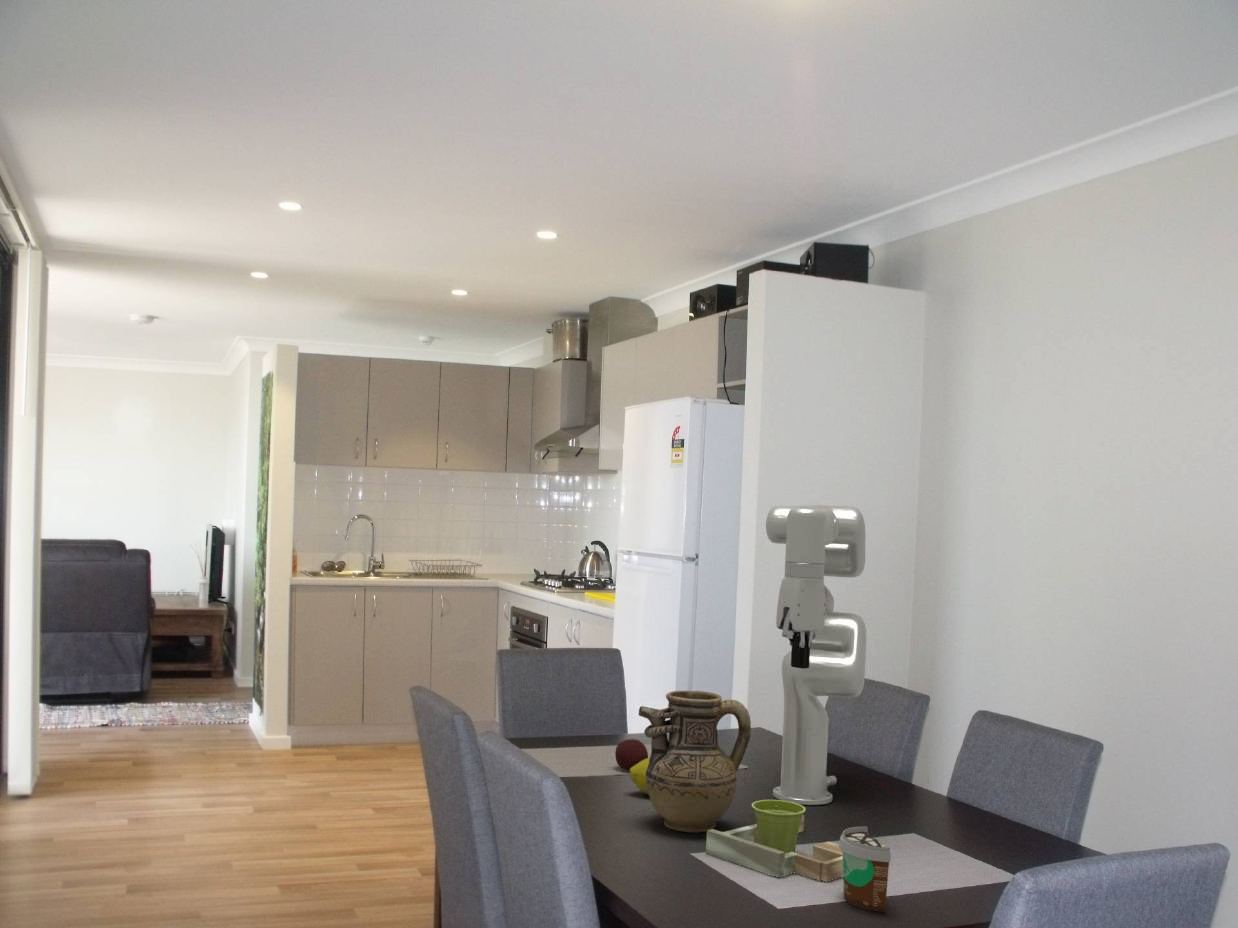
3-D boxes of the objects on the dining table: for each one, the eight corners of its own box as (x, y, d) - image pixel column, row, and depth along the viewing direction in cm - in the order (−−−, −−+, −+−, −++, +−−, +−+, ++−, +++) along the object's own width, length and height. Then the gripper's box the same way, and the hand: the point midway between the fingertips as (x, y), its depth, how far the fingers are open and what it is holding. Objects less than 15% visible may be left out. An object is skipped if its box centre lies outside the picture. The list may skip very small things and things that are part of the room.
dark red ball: (609, 767, 259) (610, 736, 260) (639, 765, 263) (641, 735, 263) (622, 774, 253) (624, 743, 253) (653, 772, 256) (655, 741, 256)
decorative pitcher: (740, 816, 223) (746, 690, 224) (752, 843, 205) (758, 705, 206) (631, 811, 222) (638, 684, 223) (633, 837, 205) (641, 699, 206)
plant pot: (774, 867, 192) (777, 815, 192) (738, 851, 199) (741, 802, 200) (814, 860, 197) (816, 810, 197) (777, 845, 205) (780, 797, 205)
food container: (827, 886, 183) (829, 824, 183) (863, 887, 184) (866, 825, 184) (848, 913, 171) (851, 847, 171) (888, 914, 171) (891, 848, 172)
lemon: (679, 792, 239) (681, 754, 240) (680, 801, 231) (682, 762, 232) (629, 789, 240) (631, 751, 240) (628, 798, 232) (630, 759, 232)
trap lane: (797, 829, 216) (798, 808, 216) (897, 858, 200) (898, 836, 200) (705, 853, 197) (706, 830, 197) (807, 888, 181) (808, 863, 182)
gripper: (811, 570, 225) (807, 662, 224) (764, 570, 214) (760, 667, 213) (842, 573, 219) (838, 667, 218) (796, 573, 209) (791, 672, 208)
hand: (799, 667), depth 216 cm, fingers closed
